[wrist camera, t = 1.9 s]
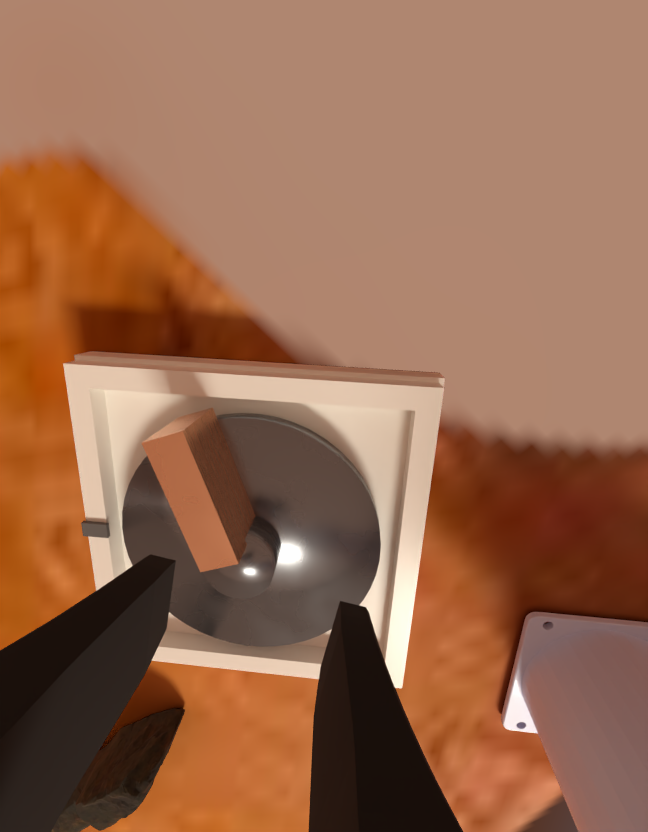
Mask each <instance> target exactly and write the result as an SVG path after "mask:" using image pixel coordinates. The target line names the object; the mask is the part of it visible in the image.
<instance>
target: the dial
mask: <svg viewBox="0 0 648 832" xmlns="http://www.w3.org/2000/svg"><path fill="white" fill-rule="evenodd" d="M142 445H143V448H144V450H145V452H146V454H147V456H146V457H145V458H144V460H143V461H142V462H141V464H140V465H139V467H138V468H137V469H136V471H135V473H134V475H133V477H132V479H131V481H130V483H129V485H128V489H127V492H126V495H125V498H124V504H123V511H122V529H123V536H124V543H125V546H126V550H127V553H128V556H129V559H130V561H131V563H132V566H133V565H135V564H136V563H138V562H139V561H140V560H142V559H143V558H145V557H147V556H148V555H150V554H151V555H156V556H160V557H164V558H168V559H172V560H176V563H175V570H174V578H173V585H172V593H171V600H170V608H169V612H170V613H171V614H172V615H173V616H175V617H176V618H178V619H179V620H180V621H182V622H183V623H185V624H186V625H188V626H190V627H192V628H194V629H196V630H198V631H199V632H202V633H204V634H206V635H209V636H211V637H214V638H217V639H220V640H223V641H227V642H230V643H235V644H241V645H247V646H258V647H269V646H283V645H290V644H295V643H299V642H303V641H306V640H309V639H312V638H314V637H317V636H320V635H321V634H323V633H325V632H327V631H329V630H331V629H332V626H333V623H334V620H335V616H336V613H337V609H338V606H339V603H340V601H343V602H347V603H351V604H355V605H360V604H361V602H362V601H363V600H364V598H365V597H366V595H367V593H368V592H369V590H370V588H371V586H372V584H373V581H374V579H375V576H376V573H377V569H378V565H379V561H380V549H381V541H380V528H379V519H378V514H377V510H376V506H375V503H374V500H373V498H372V495H371V492H370V490H369V488H368V486H367V484H366V483H365V481H364V479H363V477H362V476H361V474H360V473H359V472H358V470H357V469H356V468H355V466H354V465H353V464H352V462H351V461H350V460H349V459H348V458H347V457H346V456H345V455H344V454H343V453H342V452H341V451H340V450H339V449H338V448H336V447H335V446H334V445H333V444H331V443H330V442H329V441H328V440H326V439H325V438H323V437H322V436H320V435H318V434H317V433H315V432H313V431H312V430H310V429H308V428H306V427H303V426H301V425H299V424H297V423H294V422H291V421H288V420H285V419H282V418H278V417H274V416H269V415H263V414H254V413H233V414H222V415H217V416H216V414H215V412H214V409H213V407H212V408H209V409H206V410H202V411H199V412H195V413H192V414H188V415H185V416H181V417H178V418H177V419H175V420H174V421H172V422H171V423H169V424H168V425H166V426H165V427H164V428H162V429H161V430H159V431H158V432H156V433H155V434H153V435H152V436H151V437H149V438H148V439H146V440H145V441H143V442H142Z"/></svg>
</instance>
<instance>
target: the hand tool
mask: <svg viewBox="0 0 648 832" xmlns="http://www.w3.org/2000/svg"><path fill="white" fill-rule="evenodd" d="M184 712H185V710H184V709H180V708H178V709H175V708H173V709H169V710H166V711H162V712H160V713H155V714H151V715H150V716H148V717H147V718H143V719H142V720H140V721H138V722H135V723H133V724H130V725H128V726H125V727H122V728H121V729H120V730H119V731H118V732H117V734H116V735H115V736H114V738H113V739H112V740H111V741H110V742H109V743H108V745H106V746H105V747H104V748H103V749H101V750H100V751H98V752H97V754H96V756H95V757H94V759H93V761H92V762H91V764H90V766H89V767H88V769H87V770H86V772H85V774H84V775H83V777H82V779H81V780H80V782H79V784H78V785H77V787H76V788H75V790H74V792H73V794H72V795H71V797H70V799H69V801H68V802H67V804H66V806H65V808H64V809H63V811H62V813H61V815H60V816H59V818H58V820H57V822H56V823H55V825H54V827H53V829H52V831H51V832H80V831H81V830H83V829H85V828H86V827H88V826H89V825H91V826H93V827H94V828H96V829H97V830H99V831H101V830H104V829H106V828H107V827H110V826H112V825H113V824H115V823H116V822H117V821H118V820H119V819H121V818H126V817H127V816H128V815H130V814H131V813H133V812H134V811H135V810H136V809H137V808H138V806H139V805H140V804H141V803H142V802H143V800H144V799H145V797H146V795H147V794H148V792H149V790H150V788H151V786H152V785H153V782H154V778H155V776H156V774H157V772H158V771H159V768H160V766H161V765H162V763H163V761H164V759H165V757H166V755H167V753H168V752H169V749H170V746H171V744H172V742H173V739H174V737H175V734H176V732H177V729H178V727H179V725H180V722H181V720H182V717H183V715H184Z"/></svg>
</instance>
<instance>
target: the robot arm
mask: <svg viewBox="0 0 648 832" xmlns="http://www.w3.org/2000/svg"><path fill="white" fill-rule="evenodd" d="M175 563H176V560H172V559H168V558H164V557H160V556H156V555H151V554H150V555H148V556H147V557H145V558H143V559H142V560H140V561H139V562H138V563H136V564H135V565H133V566H132V567H130V568H129V569H127V570H126V571H125V572H123V573H122V574H120V575H119V576H117V577H116V578H114V579H113V580H112V581H110V582H109V583H107V584H106V585H104V586H103V587H101V588H100V589H98V590H97V591H95V592H94V593H92V594H91V595H89V596H88V597H86V598H85V599H83V600H82V601H80V602H79V603H77V604H75V605H74V606H72V607H71V608H69V609H68V610H66V611H65V612H63V613H62V614H60V615H58V616H57V617H55V618H54V619H52V620H51V621H49V622H47V623H46V624H44V625H42V626H41V627H39V628H37V629H36V630H34V631H32V632H31V633H29V634H27V635H26V636H24V637H22V638H21V639H19V640H17V641H15V642H14V643H12V644H10V645H9V646H7V647H5V648H4V649H2V650H0V832H51V831H52V829H53V827H54V825H55V823H56V822H57V820H58V818H59V816H60V815H61V813H62V811H63V809H64V808H65V806H66V804H67V802H68V801H69V799H70V797H71V795H72V794H73V792H74V790H75V788H76V787H77V785H78V784H79V782H80V780H81V779H82V777H83V775H84V774H85V772H86V770H87V769H88V767H89V766H90V764H91V762H92V761H93V759H94V757H95V756H96V754H97V752H98V751H99V749H100V748H101V746H102V744H103V743H104V741H105V739H106V738H107V736H108V734H109V733H110V731H111V729H112V728H113V726H114V725H115V723H116V721H117V720H118V718H119V716H120V715H121V713H122V711H123V710H124V708H125V706H126V705H127V703H128V702H129V700H130V698H131V697H132V695H133V693H134V692H135V690H136V688H137V687H138V685H139V683H140V682H141V680H142V678H143V677H144V675H145V673H146V671H147V669H148V667H149V665H150V663H151V661H152V659H153V657H154V655H155V652H156V650H157V648H158V646H159V644H160V642H161V640H162V638H163V635H164V633H165V631H166V629H167V623H168V615H169V608H170V600H171V593H172V585H173V578H174V570H175ZM545 622H548V623H546V624H544V623H545ZM501 721H502V724H503V726H504V727H505V728H506V729H508V730H513V731H522V732H530V733H538V735H539V737H540V740H541V742H542V744H543V747H544V749H545V752H546V754H547V757H548V759H549V762H550V764H551V766H552V769H553V771H554V774H555V776H556V779H557V781H558V783H559V786H560V788H561V791H562V793H563V796H564V798H565V800H566V803H567V805H568V808H569V810H570V813H571V815H572V817H573V820H574V822H575V825H576V827H577V830H578V832H648V622H639V621H628V620H618V619H608V618H598V617H587V616H577V615H567V614H556V613H546V612H531V613H529V614H528V615H527V616H526V618H525V621H524V625H523V629H522V633H521V637H520V642H519V646H518V650H517V654H516V658H515V662H514V666H513V670H512V674H511V678H510V682H509V686H508V691H507V695H506V699H505V703H504V707H503V711H502V715H501ZM309 832H463V830H462V829H461V827H460V825H459V823H458V821H457V819H456V817H455V815H454V814H453V812H452V810H451V808H450V806H449V804H448V802H447V800H446V798H445V797H444V795H443V793H442V791H441V789H440V787H439V785H438V783H437V781H436V779H435V777H434V775H433V773H432V771H431V769H430V766H429V764H428V762H427V760H426V758H425V756H424V754H423V752H422V749H421V747H420V745H419V743H418V741H417V739H416V736H415V734H414V732H413V730H412V728H411V725H410V723H409V721H408V718H407V716H406V714H405V711H404V709H403V706H402V704H401V702H400V699H399V697H398V694H397V692H396V689H395V687H394V684H393V682H392V679H391V677H390V674H389V671H388V669H387V666H386V663H385V660H384V658H383V655H382V652H381V649H380V646H379V643H378V640H377V637H376V634H375V631H374V628H373V624H372V621H371V618H370V614H369V612H368V610H367V608H366V607H363V606H359V605H355V604H351V603H347V602H343V601H340V603H339V606H338V609H337V613H336V616H335V620H334V623H333V626H332V630H331V633H330V636H329V640H328V643H327V647H326V650H325V653H324V657H323V660H322V664H321V667H320V675H319V682H318V689H317V696H316V704H315V712H314V724H313V746H312V768H311V792H310V815H309Z"/></svg>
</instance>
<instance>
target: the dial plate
mask: <svg viewBox="0 0 648 832" xmlns="http://www.w3.org/2000/svg"><path fill="white" fill-rule="evenodd" d="M74 357H75V361H72V362H68V363H63V365H64V372H65V379H66V386H67V392H68V399H69V406H70V413H71V420H72V427H73V434H74V441H75V447H76V454H77V461H78V468H79V475H80V482H81V489H82V496H83V502H84V509H85V516H86V521H83V522H82V523H81V524H82V531H83V536H88V537H89V544H90V551H91V557H92V564H93V571H94V578H95V585H96V591H97V590H98V589H100V588H101V587H103V586H104V585H106V584H107V583H109V582H110V581H112V580H113V579H114V578H116V577H117V576H119V575H120V574H122V573H123V572H125V571H126V570H127V569H129V568H130V567H132V563H131V561H130V559H129V556H128V553H127V550H126V546H125V543H124V536H123V529H122V511H123V504H124V498H125V495H126V492H127V489H128V485H129V483H130V481H131V479H132V477H133V475H134V473H135V471H136V469H137V468H138V467H139V465H140V464H141V462H142V461H143V460H144V458H145V457H146V456H147V454H146V452H145V450H144V448H143V445H142V442H143V441H145V440H146V439H148V438H149V437H151V436H152V435H153V434H155V433H156V432H158V431H159V430H161V429H162V428H164V427H165V426H166V425H168V424H169V423H171V422H172V421H174V420H175V419H177V418H178V417H181V416H185V415H188V414H192V413H195V412H199V411H202V410H206V409H209V408H212V407H213V409H214V412H215V414H216V416H217V415H222V414H233V413H254V414H263V415H269V416H274V417H278V418H282V419H285V420H288V421H291V422H294V423H297V424H299V425H301V426H303V427H306V428H308V429H310V430H312V431H313V432H315V433H317V434H318V435H320V436H322V437H323V438H325V439H326V440H328V441H329V442H330V443H331V444H333V445H334V446H335V447H336V448H338V449H339V450H340V451H341V452H342V453H343V454H344V455H345V456H346V457H347V458H348V459H349V460H350V461H351V462H352V464H353V465H354V466H355V468H356V469H357V470H358V472H359V473H360V474H361V476H362V477H363V479H364V481H365V483H366V484H367V486H368V488H369V490H370V492H371V495H372V498H373V500H374V503H375V506H376V510H377V514H378V519H379V528H380V541H381V549H380V561H379V565H378V569H377V573H376V576H375V579H374V581H373V584H372V586H371V588H370V590H369V592H368V593H367V595H366V597H365V598H364V600H363V601H362V602H361V604H360V605H359V606H363V607H366V608H367V610H368V612H369V614H370V618H371V621H372V624H373V628H374V631H375V634H376V637H377V640H378V643H379V646H380V649H381V652H382V655H383V658H384V660H385V663H386V666H387V669H388V671H389V674H390V677H391V679H392V682H393V684H394V687H395V688H402V685H403V678H404V671H405V664H406V656H407V649H408V642H409V635H410V628H411V621H412V614H413V607H414V600H415V593H416V585H417V578H418V571H419V564H420V557H421V550H422V543H423V536H424V529H425V522H426V514H427V507H428V500H429V493H430V486H431V479H432V472H433V465H434V458H435V450H436V443H437V436H438V429H439V422H440V415H441V408H442V401H443V393H444V381H445V378H444V377H443V376H442V375H441V374H440V373H435V372H434V373H433V372H419V371H403V370H386V369H370V368H354V367H338V366H322V365H306V364H290V363H274V362H258V361H242V360H225V359H209V358H193V357H177V356H161V355H145V354H129V353H113V352H97V351H90V352H86V353H81V354H76V355H74ZM331 630H332V629H331ZM331 630H329V631H327V632H325V633H323V634H321V635H320V636H317V637H314V638H312V639H309V640H306V641H303V642H299V643H295V644H290V645H283V646H269V647H258V646H247V645H241V644H235V643H230V642H227V641H223V640H220V639H217V638H214V637H211V636H209V635H206V634H204V633H202V632H199V631H198V630H196V629H194V628H192V627H190V626H188V625H186V624H185V623H183V622H182V621H180V620H179V619H178V618H176V617H175V616H173V615H172V614H171V613H170V612H169V615H168V623H167V629H166V631H165V633H164V635H163V638H162V640H161V642H160V644H159V646H158V648H157V650H156V652H155V655H154V657H153V659H152V661H160V662H169V663H178V664H187V665H196V666H205V667H214V668H223V669H232V670H241V671H250V672H259V673H268V674H277V675H286V676H295V677H304V678H313V679H319V675H320V667H321V664H322V660H323V657H324V653H325V650H326V647H327V643H328V640H329V636H330V633H331Z"/></svg>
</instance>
